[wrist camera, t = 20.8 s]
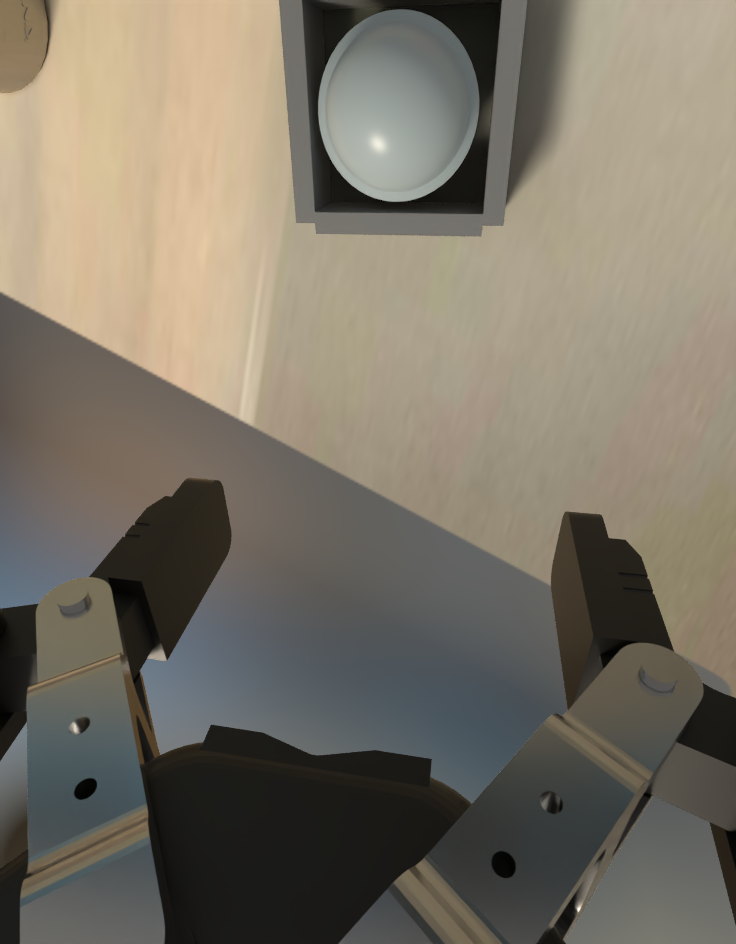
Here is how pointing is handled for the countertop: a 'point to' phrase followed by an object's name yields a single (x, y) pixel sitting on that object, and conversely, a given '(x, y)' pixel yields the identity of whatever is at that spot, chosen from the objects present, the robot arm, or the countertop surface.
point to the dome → (398, 105)
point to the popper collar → (311, 159)
